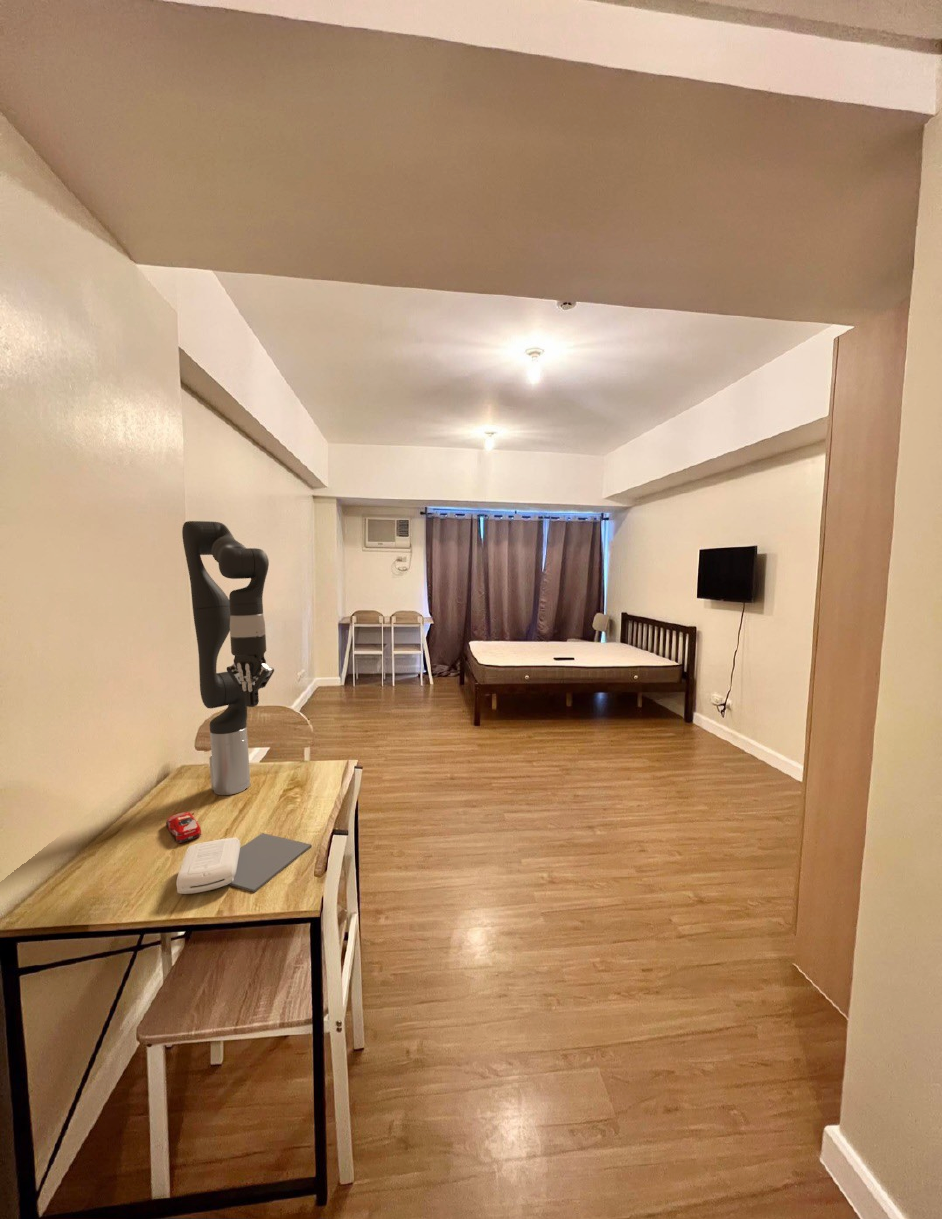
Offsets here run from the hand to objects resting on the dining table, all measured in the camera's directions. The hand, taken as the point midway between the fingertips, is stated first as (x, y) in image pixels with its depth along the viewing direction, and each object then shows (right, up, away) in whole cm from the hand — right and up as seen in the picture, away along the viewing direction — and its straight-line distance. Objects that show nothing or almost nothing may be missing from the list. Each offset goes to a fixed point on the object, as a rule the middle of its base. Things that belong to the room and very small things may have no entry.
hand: (252, 706), depth 114 cm
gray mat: (+7, -30, -13) cm, 34 cm away
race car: (-16, -30, -1) cm, 34 cm away
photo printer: (-2, -27, -13) cm, 30 cm away
